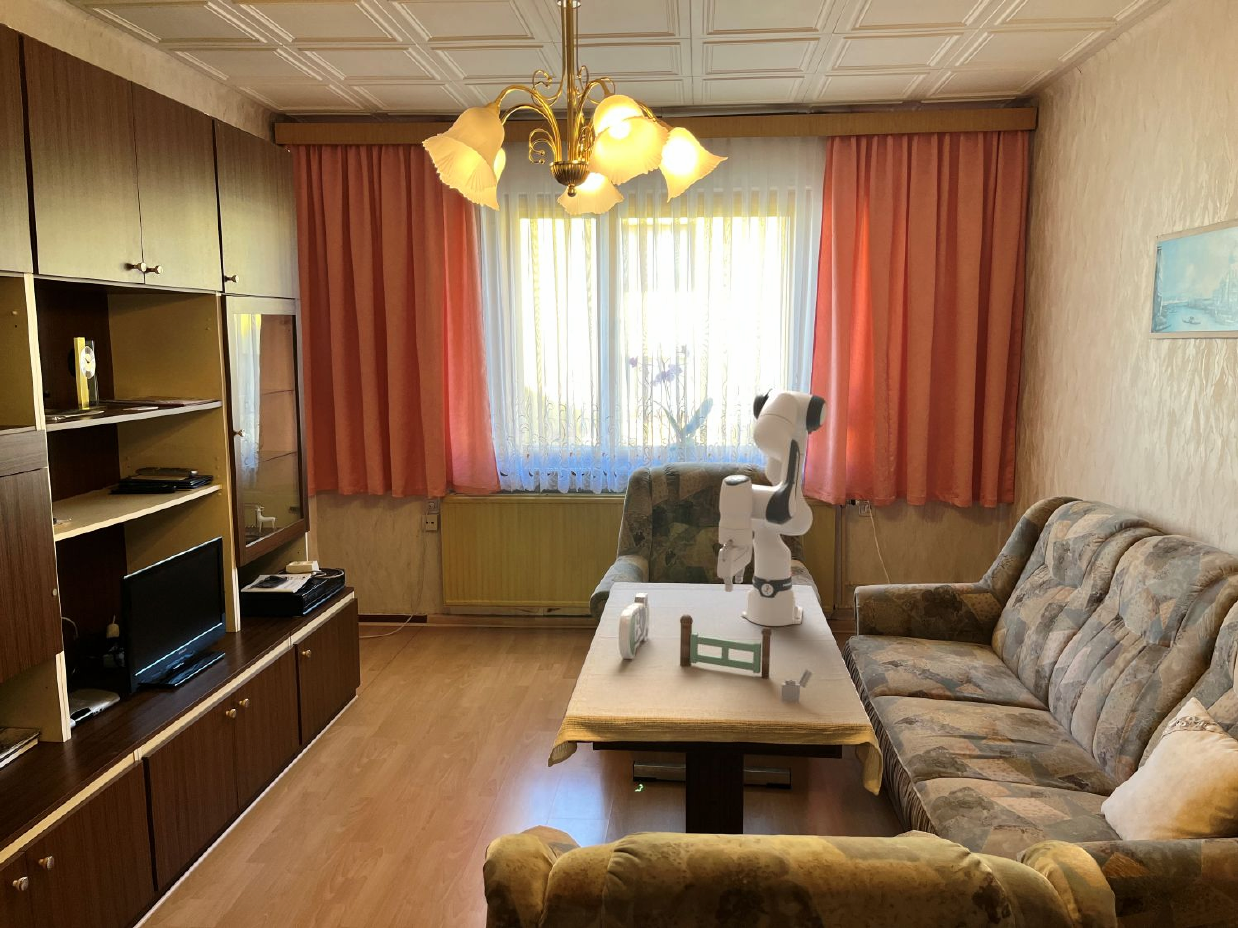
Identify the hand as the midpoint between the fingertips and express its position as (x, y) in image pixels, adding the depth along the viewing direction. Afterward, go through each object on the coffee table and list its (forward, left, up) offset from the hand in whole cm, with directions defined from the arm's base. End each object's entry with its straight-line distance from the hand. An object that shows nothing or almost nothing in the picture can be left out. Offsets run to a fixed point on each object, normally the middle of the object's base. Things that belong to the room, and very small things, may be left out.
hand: (734, 586), depth 250 cm
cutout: (+2, -28, -21) cm, 35 cm away
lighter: (+19, +22, -21) cm, 36 cm away
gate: (+7, 0, -20) cm, 21 cm away
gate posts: (+7, 0, -21) cm, 22 cm away
